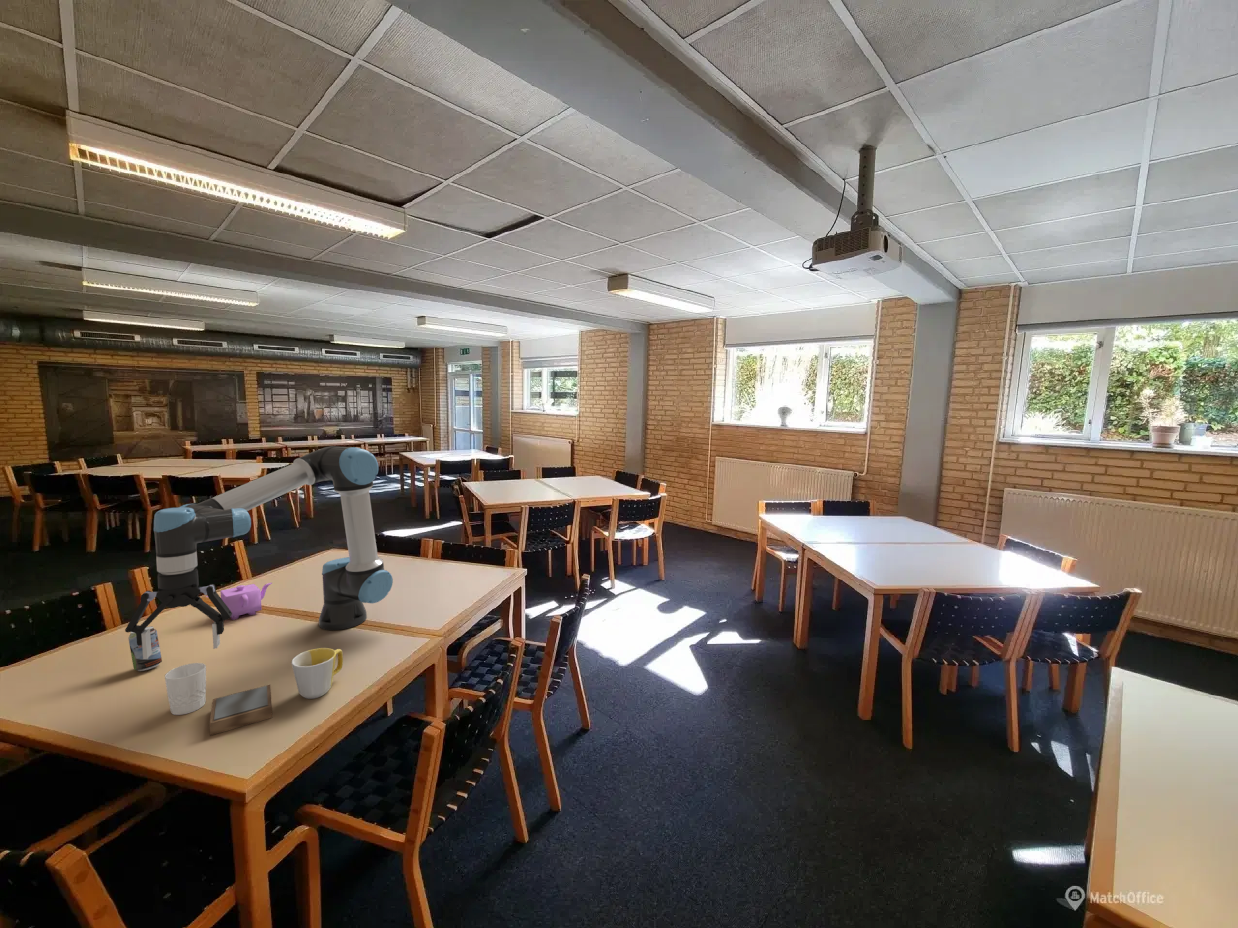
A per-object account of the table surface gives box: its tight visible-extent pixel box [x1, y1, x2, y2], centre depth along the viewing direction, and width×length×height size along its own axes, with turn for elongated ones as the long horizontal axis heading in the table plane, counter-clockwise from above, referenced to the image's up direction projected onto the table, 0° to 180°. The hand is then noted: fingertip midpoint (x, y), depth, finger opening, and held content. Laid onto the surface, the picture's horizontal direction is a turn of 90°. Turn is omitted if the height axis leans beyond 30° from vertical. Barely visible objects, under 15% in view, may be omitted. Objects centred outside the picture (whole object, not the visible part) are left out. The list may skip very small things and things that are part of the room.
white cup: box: [164, 662, 207, 716], centre depth 126 cm, size 8×8×10 cm
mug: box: [291, 647, 344, 700], centre depth 135 cm, size 14×10×10 cm
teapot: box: [205, 582, 273, 621], centre depth 182 cm, size 15×13×11 cm
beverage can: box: [128, 625, 163, 672], centre depth 144 cm, size 6×7×12 cm
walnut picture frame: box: [209, 684, 273, 736], centre depth 124 cm, size 12×12×3 cm
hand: (183, 651), depth 125 cm, fingers open, 13 cm apart
